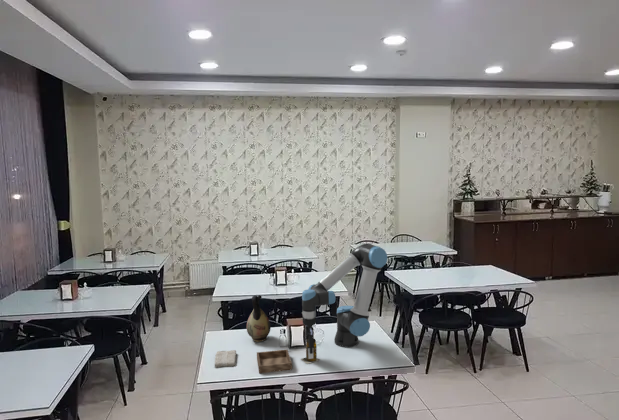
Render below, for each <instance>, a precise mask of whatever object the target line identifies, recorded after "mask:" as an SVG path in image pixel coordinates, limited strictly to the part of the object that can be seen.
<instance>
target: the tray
mask: <svg viewBox="0 0 619 420" xmlns="http://www.w3.org/2000/svg"><path fill="white" fill-rule="evenodd" d="M256 362H257V368H258V374H266V373H267V374H268V373H277V372H285V371H293V363H292V360H291V356H290V353H289V350H288V349H278V350H269V351H267V350H266V351H258V352H256Z"/></svg>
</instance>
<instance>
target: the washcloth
mask: <svg viewBox="0 0 619 420" xmlns="http://www.w3.org/2000/svg"><path fill="white" fill-rule="evenodd" d="M236 356H237V350H236V349H232V350H219V351H216V353H215V357H214V368H221V367H234V366H236V361H237V360H236V358H237V357H236Z"/></svg>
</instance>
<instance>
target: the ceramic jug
mask: <svg viewBox="0 0 619 420" xmlns="http://www.w3.org/2000/svg"><path fill="white" fill-rule="evenodd" d="M262 297H263V296H262V295H260V294H259V295H256V294H255V295H252V297H251V302H252V307H253V310H252V312H251V313H250V314H249V317H248V319H247V322H246V332H247V334H248V336H250V337H251V339H252V341H253V342H256V343H258V342H264V341H267V339H268V336H269V335H270V332H271V329H272V327H271V321H270V319H269V317H268V316H267V314H266V313H265V312H264V310H263V309H262V308H261V307H260V300H261V299H262Z"/></svg>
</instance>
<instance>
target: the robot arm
mask: <svg viewBox="0 0 619 420" xmlns="http://www.w3.org/2000/svg"><path fill="white" fill-rule="evenodd" d="M387 262H388V254H387V252H386V251H385V249H384V248H383V247H381V246H378V245H373V244H371V243H362V244H360V245H359V246H357V247H356V248H354V249H353V250H352V251H351V252H350V253H349V254H348V256H347V257H346V258H345V259H344V260H343V261H341V262H340V264H338V265H337V266H336V267H335V268H334V269H332V270H331V271H330V272H329V273H328V274H326V275H325V276H324V277H323V278H322V279H320V281H318V282H317V283H316V284H315V283H314V284H311V285H310V286H309V287H308V288H307V289H305V290H303V291H302V293H301V296H302V297H301V299H302V300H301V306H302V312H301V314H302V324H303V326H305V328H304V329H305V335H304V336H305V345H306V344H307V339H308V342H309V347H308V355H309V359H313V348H314V339H315V337H314V335H315V332H314V327H313V326H315V325H316V323H317V322H316V321H317V318H316V317H317V313H316V311H317V309H316V307H319V306H320V307H321V306H327V305H332V304H335V302H336V293H335V292H334V291H333V290H330V289H332V288H333V287H334V286H335V285H336V284H337V283H338V282H340V281H341V280H342V279H343V278H345V276H347V275H348V274H349V273H350V272H351V271H353V269H354V268H356V267H357V266H361V267H362V273H361V277H360V281H359V285H358V289H357V292H356V296H355V301H354V305H341V306H338V307H337V309H336V332H335V333H336V334H335V336H334V341H333V342H334V344H335V345H337V346H338V347H342V348H350V347H351V348H353V347H356V346H357V345H359V342H360V341H359V337H363V336H365V335H366V334H368V332H369V331H370V328H371V323H370V321H369V318H370V313H369V312H368V311H369V307H370V303H371V300H372V296H373V292H374V289H375V284H376V280H377V277H378V273H379V272H381V271H382V268H383V267H384V266H386V264H387Z"/></svg>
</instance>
